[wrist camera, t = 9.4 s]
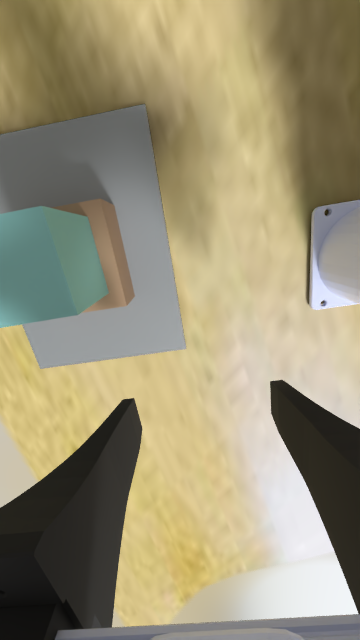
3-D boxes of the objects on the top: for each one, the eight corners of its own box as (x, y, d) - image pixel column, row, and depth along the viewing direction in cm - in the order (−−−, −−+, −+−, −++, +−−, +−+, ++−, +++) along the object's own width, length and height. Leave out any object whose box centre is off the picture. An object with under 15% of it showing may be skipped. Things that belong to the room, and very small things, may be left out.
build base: (146, 107, 15) (135, 72, 12) (185, 346, 21) (186, 366, 18) (-45, 148, 16) (-103, 125, 13) (43, 366, 22) (19, 387, 19)
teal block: (87, 216, 15) (41, 205, 10) (109, 293, 16) (78, 315, 11) (14, 231, 15) (-65, 227, 10) (42, 304, 17) (-15, 330, 12)
